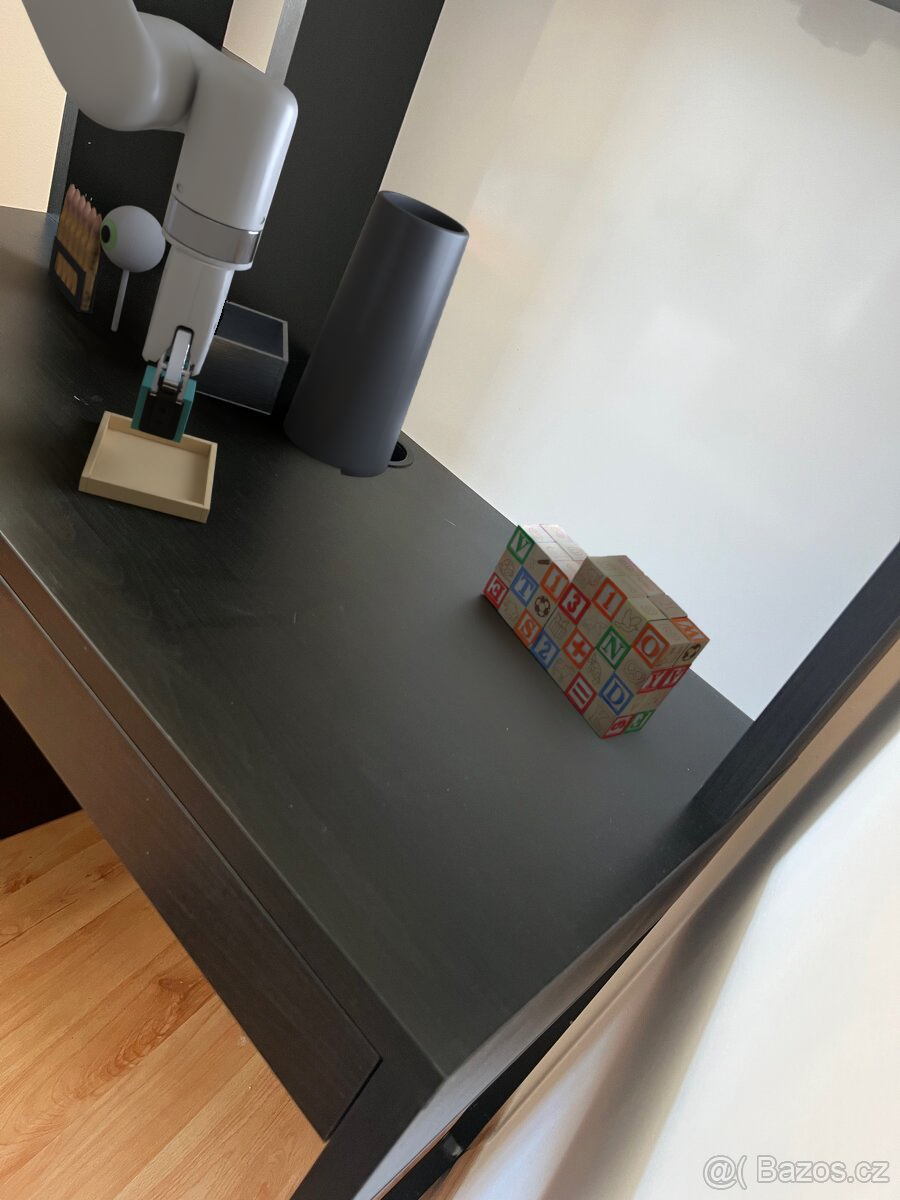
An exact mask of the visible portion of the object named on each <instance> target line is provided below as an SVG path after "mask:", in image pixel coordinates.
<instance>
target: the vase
mask: <svg viewBox="0 0 900 1200" xmlns="http://www.w3.org/2000/svg"><path fill="white" fill-rule="evenodd" d="M469 239H470V232H469V230H468V228H466V227H465V226H464V225H463V224H461V223H460V222H459V221H458V220H456V219H455V218H453V217H452V216H450V215H448V214H446V213H444V212H443V211H441V210H440V209H437V208H435V207H433V206H431V205H429V204H427V203H425V202H422V201H420V200H418V199H416V198H414V197H411V196H409V195H405V194H402V193H400V192H396V191H392V190H386V189H385V190H384V189H383V190H380V191H378V192H377V193H376V195H375V198H374V200H373V202H372V205H371V207H370V209H369V212H368V215H367V217H366V219H365V222H364V225H363V227H362V229H361V232H360V235H359V237H358V239H357V241H356V243H355V246H354V249H353V250H352V252H351V256H350V258H349V261H348V263H347V266H346V269H345V271H344V273H343V275H342V279H341V280H340V282H339V285H338V288H337V290H336V292H335V296H334V298H333V300H332V303H331V305H330V308H329V309H328V312H327V314H326V317H325V319H324V321H323V324H322V328H321V330H320V331H319V333H318V337H317V339H316V341H315V344H314V347H313V349H312V351H311V354H310V356H309V359H308V361H307V363H306V366H305V368H304V370H303V374H302V376H301V377H300V380H299V384H298V385H297V388H296V389H295V390H296V391H295V393H294V395H293V398H292V400H291V403H290V405H289V407H288V410H287V412H286V415H285V417H284V420H283V427H282V428H283V430H284V433H285V435H286V436H287V437H288V439H289V440H290V441H291V442H292V443H293V444H294V445H295V446H296V447H297V448H298V449H300V450H301V451H303V452H304V453H305V454H307V455H308V456H310V457H312V458H313V459H316V460H318V461H319V462H322V463H324V464H325V465H329V466H331V467H333V468H336V469H340V473H341V474H344V475H348V476H355V477H374V476H379V475H381V474H383V473H384V472H385V471H386V470H387V469H388V467H389V463H390V461H391V459H392V456H393V453H394V450H395V447H396V444H397V443H398V439H399V436H400V434H401V431H402V427H403V425H404V423H405V420H406V417H407V414H408V411H409V408H410V406H411V404H412V399H413V397H414V395H415V391H416V389H417V386H418V383H419V380H420V378H421V375H422V371H423V370H424V367H425V363H426V361H427V358H428V356H429V352H430V350H431V348H432V343H433V341H434V339H435V336H436V332H437V330H438V327H439V324H440V321H441V318H442V316H443V313H444V311H445V308H446V304H447V301H448V298H449V297H450V293H451V290H452V287H453V285H454V282H455V279H456V276H457V274H458V271H459V267H460V265H461V262H462V259H463V257H464V254H465V252H466V249H467V246H468V242H469Z"/></svg>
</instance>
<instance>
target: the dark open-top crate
mask: <svg viewBox="0 0 900 1200" xmlns="http://www.w3.org/2000/svg"><path fill="white" fill-rule="evenodd" d="M228 301H229V300H227V301H226V303H225V306H224V313H223V314H224V315H223V317H222V318H223V319H222V320H221V322H220V325H219V327H218V330H217V332H216V333H217V334H216V335H214V336H213V339H212V341H211V344H210V347H209V349H208V352H207V355H206V357H205V360H204V362H203V365H202V367H201V370H200V372H199V374H197V375H195V376H191V375H190V376H189V377H190V379H191V380H194V381H196V387H195V392H194V395H197V396H200V397H204V398H207V399H210V400H213V401H217V402H220V403H223V404H226V405H229V406H233V407H236V408H237V409H238V408H239V409H242V410H245V411H249V412H252V413H254V414H258V415H261V416H264V417H268V418H271V415H272V412H273V410H274V406H275V403H276V401H277V397H278V394H279V391H280V388H281V385H282V382H283V379H284V376H285V373H286V371H287V367H288V365H289V337H288V321H287V320H283V319H280V318H278V317H274V316H272V315H270V314H266V313H264V312H260V311H258V310H255V309H253V308H249V307H248V306H244V305H241V304H238V303H235V302H233V301H230V302H228ZM166 359H167V357H166ZM184 364H185V363H184Z"/></svg>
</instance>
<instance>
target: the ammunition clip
mask: <svg viewBox="0 0 900 1200" xmlns="http://www.w3.org/2000/svg"><path fill="white" fill-rule="evenodd" d="M102 222H103V218H102V213H97V209H96V207H92V206H91V202H90V201H89V200H87V201H86V197H85V195H84V194H82V195H81V192H80V190H79V189H76V187H75V184H74V183H71V185H69V187H68V190H67V191H66V195H65V198H64V202H63V206H62V211H61V214H60V217H59V222H58V227H57V234H56V235H54V237H53V242H52V248H51V254H50V260H49V265H48V271H47V274H48V276H49V277H50V279H51V280H52V282H54V284H55V285H56V287H57V288H58V289H59V291H60V292H61V293H62V294H63V296H64V297H65V298H66V299H67V301H68V302H69V303H70V305H71V306H72V308H73V309H74V310H75V311H76V312H77V313H84V314H90V315H92V314H93V310H94V306H95V305H94V304H95V299H96V294H97V293H96V292H97V287H98V280H99V276H100V274H99V273H98V266H99V261H100V256H101V240H100V229H101V225H102Z"/></svg>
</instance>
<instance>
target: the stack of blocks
mask: <svg viewBox="0 0 900 1200" xmlns="http://www.w3.org/2000/svg"><path fill="white" fill-rule="evenodd" d="M482 594H483V595H484V596H485V597H486V598H487V599H488V600H489V602H490V603H491V604H492V605H493V606H494V607H495V609H496V610H497V612H498V613H499V615H500V616H501V617H502V618H503V620H504V621H505V623H506V624H507V625H508V626H509V627H510V628H511V629H512V630H513V632H514V633H515V634H516V636H517V637H518V638H519V640H521V643H523V644H524V646H525V647H526V648H527V650H529V651H530V652H531V653H532V654H533V656H534V658H536V659H537V661H538V662H539V664H541V666H542V667H543V668H544V669H545V670H546V671H547V673H548V674H549V675H550V676H551V678H552V679H553V680H554V682H555V683H556V684H557V685H558V686H559V688H560V689H561V691H563V692H564V694H565V696H566V697H567V698H568V699H569V701H570V702H571V704H572V705H573V706H574V707H575V709H576V710H577V711H578V712H579V714H581V715H582V717H583V718H584V720H585V721H586V722H587V723H588V725H589V726H590V727H591V728H592V730H593V731H594V732H595V733H596V735H597V736H598V737H599V738H600V739H602V740H603V739H609V738H613V737H617V736H620V735H622V734H628V733H632V732H637V731H641V730H643V728H644V727H645V725H646V724H647V723H648V721H649V720H650V719H651V717H652V716H653V715H654V714H655V712H656V711H657V709H658V708H659V707H660V705H661V704H662V703H663V702H664V700H665V699H666V698H667V696H668V695H669V694H670V693H671V691H673V689H674V687H676V686H677V684H678V683H679V682H680V681H681V680H682V678H683V677H684V675H686V673H687V671H688V670H689V669H690V668H691V667H692V665H693V663H694V661H696V659H697V658H698V656H700V654H701V653H702V652H703V650H705V648H706V647H707V645H708V644H709V643H710V641H711V639H710V638H709V637H708V636H707V634H705V633H704V632H703V630H701V629H700V628H699V627H698V625H696V624H695V622H694V621H692V620H691V618H689V616H688V613H687V612H686V611H685V610H684V609H683V608H682V607H681V606H680V605H679V604H678V603H677V602H676V601H675V600H674V599H673V598H672V597H670V595H668V594H666V593H665V591H664V590H663V589H662V588H660V587H659V586H658V585H657V584H656V582H654V581H653V579H651V578H650V577H649V576H648V575H646V574H645V572H644V571H643V570H642V569H640V567H638V565H636V563H634V562H633V560H632V559H631V558H630V557H628V556H627V555H626V554H616V555H615V554H613V555H603V556H599V555H598V556H597V555H594V556H590V555H589V554H588V553H587V552H586V551H584V549H583V548H582V547H581V546H580V545H579V544H578V543H577V542H576V541H575V540H574V539H573V538H572V537H571V536H570V535H569V534H568V533H567V532H566V531H565V530H564V529H563V528H562V527H561V526H560V525H559V524H545V523H543V524H542V523H539V524H523V523H522V524H521V523H518V524H517V526H516V528H515V530H514V531H513V533H512V535H511V537H510V539H509V541H508V543H507V544H506V546H505V550H504V551H503V553H502V554H501V557H500V559H499V560H498V562H497V564H496V566H495V568H494V570H493V572H492V574H491V575H490V577H489V578H488V581H487V583H486V584H485V586H484V588H483V590H482Z"/></svg>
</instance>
